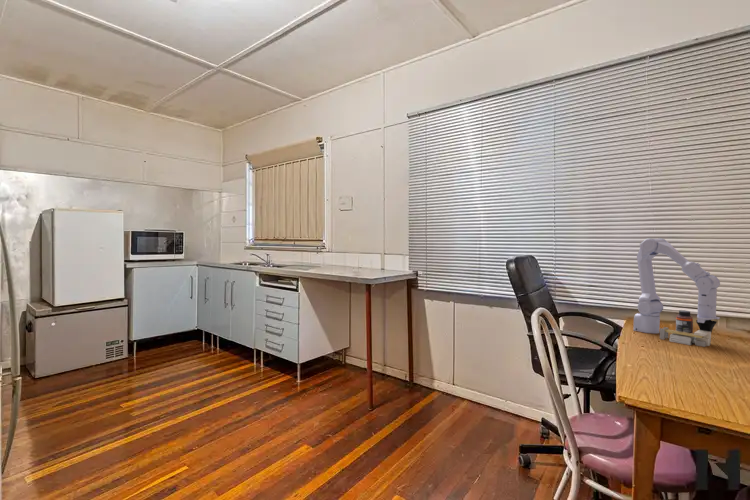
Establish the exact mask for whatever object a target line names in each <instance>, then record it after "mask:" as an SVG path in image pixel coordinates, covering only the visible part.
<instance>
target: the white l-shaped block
mask: <svg viewBox="0 0 750 500" xmlns="http://www.w3.org/2000/svg"><path fill="white" fill-rule="evenodd" d="M693 334H694V335H699V336H704V337H703V338H698V337H696V340H701V341H706V346H705V347H709V346H711V341H712V340H711V339H712V333H711V332H709V331H703V330H700V329H697V330H696V331H694V332H693Z"/></svg>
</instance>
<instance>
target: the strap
mask: <svg viewBox="0 0 750 500" xmlns="http://www.w3.org/2000/svg"><path fill="white" fill-rule="evenodd" d="M665 332H668V334H672V333H674V334H680V335H686V336H692V337H698V338H703V337H704V336H699V335H694V332H693V333H687V332H681V331H676V329H674V330H673V329H665Z"/></svg>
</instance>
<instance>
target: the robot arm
mask: <svg viewBox="0 0 750 500" xmlns="http://www.w3.org/2000/svg"><path fill="white" fill-rule="evenodd" d="M658 254H662V255H666V256H667V257H668V258H670V259H671V260H672V261H674V263H676V264H678V266H680V267H681V272H682V273H684V274H685V275H686V276H687V277H688V278H689V279H690V280H692V281H693V282H694V283H695V286H696V288H697V289H698V294H697V314H696V318H697V319H696V320H695V321H696V322H695V323H696V324H697V326H698V328H699V330H703V331H709V332H711V334H712V332H713V329H714V327H715V326H716V325H717V323H718V322H717V320H720V319H721V317H720V316H717V302H718V301H717V296H718V295H717V294H718V293H717V292H718V288H720V285H721V281H720V279H719V278H718V277H717V275H713V274H711V273H710V272H709V271H706V270H705V269H704V268H703V267H701V264H700V263H699V262H695V261H689V260H688V259H687V258H686V257H685V256H684V255H683V254H681V252H679V251H678V250H677V249H676V248H675V247H674V246H673V245H672V244H671V242H669V241H667V240H666V239H664V238H662V237H658V238H652V237H648V238H645V239H643V240H642V241H641V242H640V243H639V250H638V253H637V254H636V261H637V268H638V274H639V275H638V276H639V277H638V278H639V284H640V290H641V294H640V296H639V297H638V303H637V310H638V313H635V314H634V317H633V328H632V330H633V332H635V331H636V332H641V333H645V334H660V323H661V322H660V321H661V319H660V318H661V313H662V312H663V311H664V305H663V303H662V302H661V297H660V296H659V295H658V294H657V290H656V283H655V277H654V276H655V275H654V268H653V263H652V261H653V259H654V257H656V256H657V255H658Z"/></svg>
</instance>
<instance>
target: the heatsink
mask: <svg viewBox="0 0 750 500" xmlns="http://www.w3.org/2000/svg"><path fill="white" fill-rule="evenodd" d="M668 339H669V342H671V343H676V344H682V345H687V346H691V345H695V340H696V337H692V336H686V335H680V334H674V333H669V337H668Z"/></svg>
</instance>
